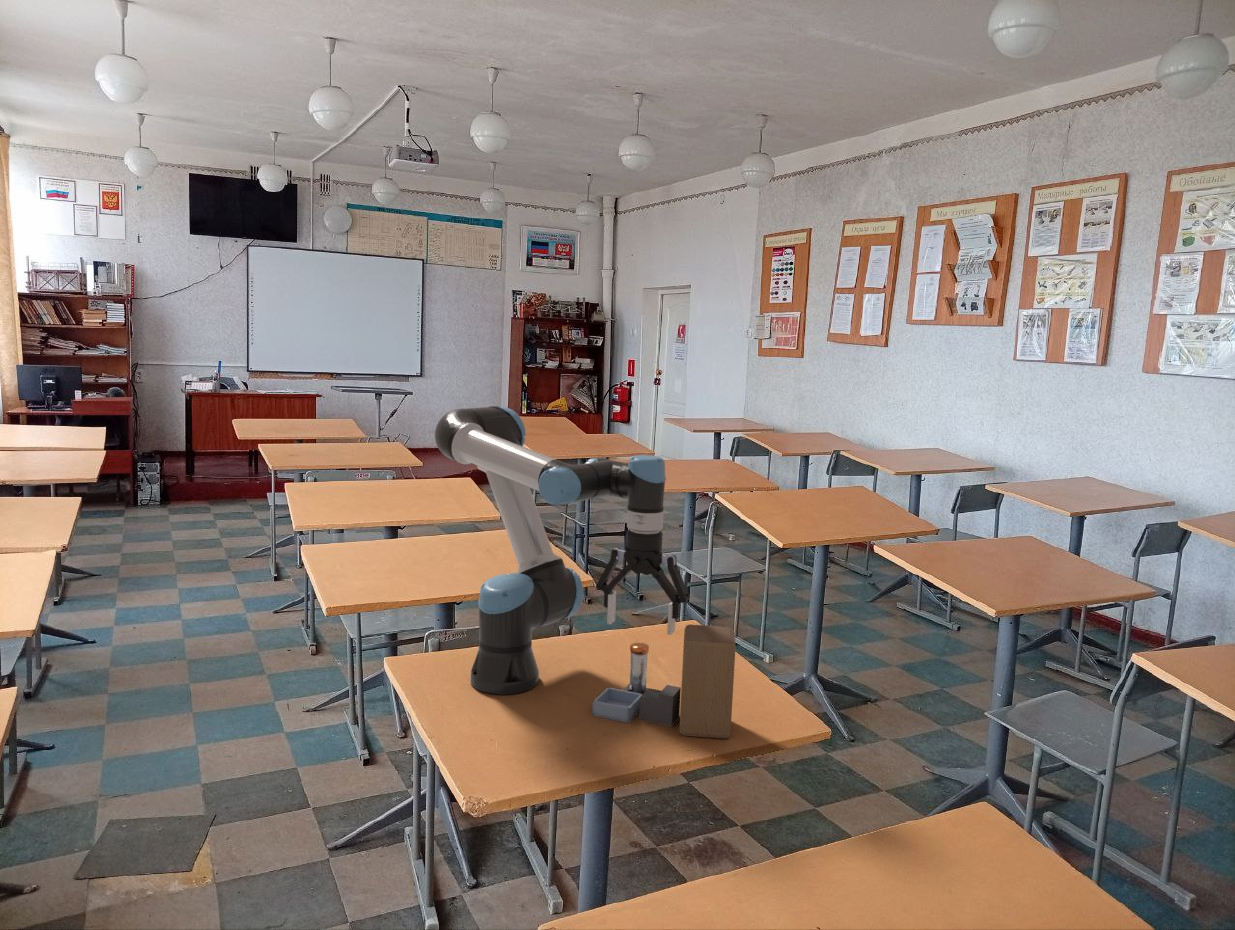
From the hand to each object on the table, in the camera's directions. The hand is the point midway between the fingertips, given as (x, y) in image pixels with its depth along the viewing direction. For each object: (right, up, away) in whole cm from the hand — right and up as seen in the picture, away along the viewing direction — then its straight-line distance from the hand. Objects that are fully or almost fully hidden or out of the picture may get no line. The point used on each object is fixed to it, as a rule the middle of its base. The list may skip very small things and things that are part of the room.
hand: (640, 627), depth 184 cm
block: (+13, -19, -10) cm, 24 cm away
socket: (-1, -16, +3) cm, 16 cm away
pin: (-1, -16, +3) cm, 16 cm away
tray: (-5, -17, -4) cm, 18 cm away
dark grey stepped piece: (+4, -18, -6) cm, 19 cm away
